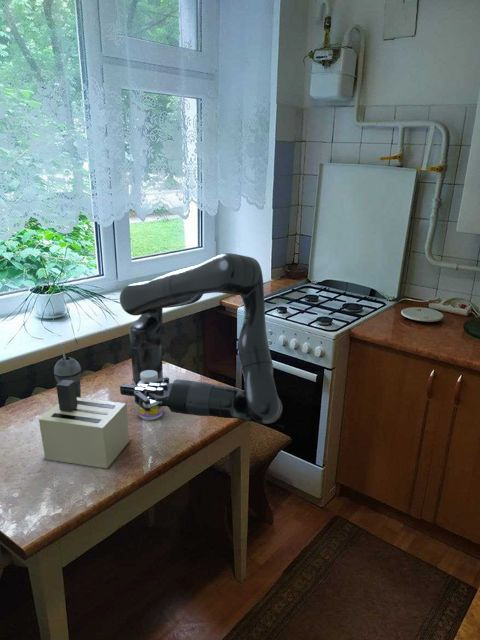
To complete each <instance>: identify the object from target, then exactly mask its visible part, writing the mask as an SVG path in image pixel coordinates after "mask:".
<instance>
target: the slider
mask: <svg viewBox="0 0 480 640" xmlns="http://www.w3.org/2000/svg"><path fill="white" fill-rule="evenodd" d="M55 386H56V387H55V388H56V393H57V400H58V401H57V402H58V403H59V409H60V410H61V411H68V412H71V411H73V410H74V409H75V408H76V407H77V406H78V404H77V396H76V388H75V381H71V380H62V381H61V382H59V383H58V384H57V383H56V384H55Z"/></svg>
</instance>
